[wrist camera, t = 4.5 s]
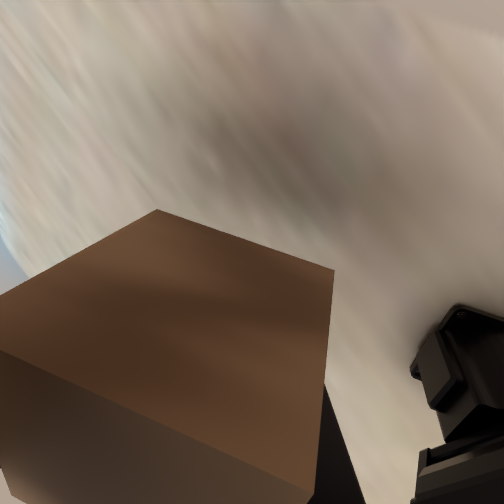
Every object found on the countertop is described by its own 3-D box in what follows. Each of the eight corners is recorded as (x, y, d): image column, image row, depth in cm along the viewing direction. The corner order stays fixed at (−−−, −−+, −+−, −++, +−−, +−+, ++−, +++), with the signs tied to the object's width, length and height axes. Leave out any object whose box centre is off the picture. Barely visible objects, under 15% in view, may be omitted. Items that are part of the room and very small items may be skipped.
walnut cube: (334, 270, 8) (313, 494, 3) (280, 393, 10) (228, 612, 6) (157, 209, 8) (-54, 324, 4) (147, 337, 11) (11, 495, 6)
